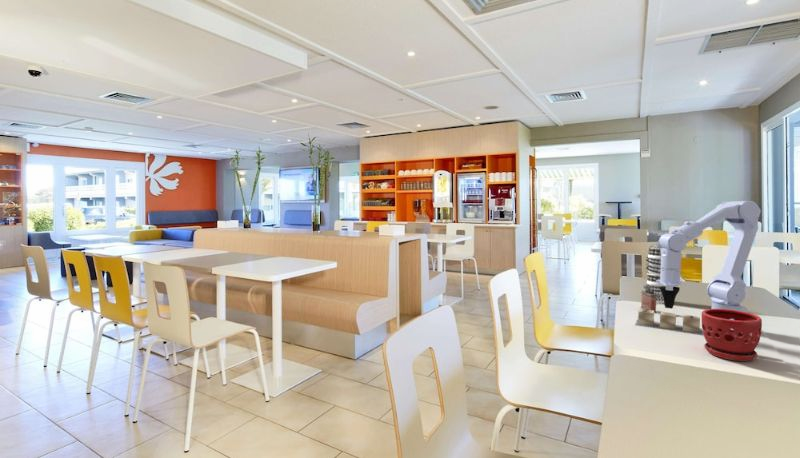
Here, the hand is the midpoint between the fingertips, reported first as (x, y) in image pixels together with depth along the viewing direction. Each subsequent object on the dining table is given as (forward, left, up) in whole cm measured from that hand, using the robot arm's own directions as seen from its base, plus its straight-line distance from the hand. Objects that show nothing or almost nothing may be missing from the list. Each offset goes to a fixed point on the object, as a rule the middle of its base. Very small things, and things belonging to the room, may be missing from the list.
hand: (668, 307), depth 141 cm
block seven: (+6, +3, -7) cm, 9 cm away
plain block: (0, 0, -7) cm, 7 cm away
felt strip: (0, 0, -7) cm, 7 cm away
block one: (-6, -3, -7) cm, 9 cm away
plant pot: (-23, +13, -7) cm, 27 cm away
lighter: (+17, -17, -7) cm, 25 cm away
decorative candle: (+26, -39, -7) cm, 48 cm away
